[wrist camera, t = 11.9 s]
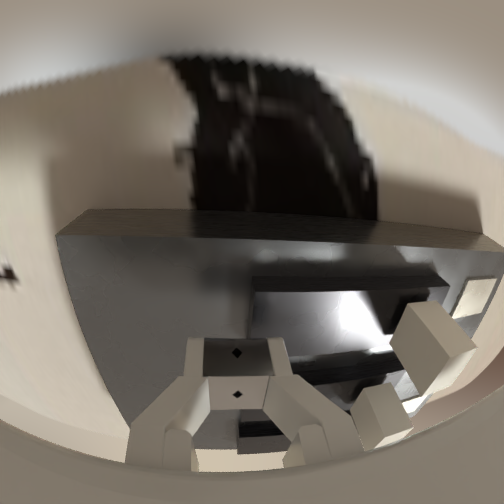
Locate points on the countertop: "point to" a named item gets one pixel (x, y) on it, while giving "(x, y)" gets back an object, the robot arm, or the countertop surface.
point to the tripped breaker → (431, 346)
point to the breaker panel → (263, 300)
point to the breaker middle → (380, 416)
